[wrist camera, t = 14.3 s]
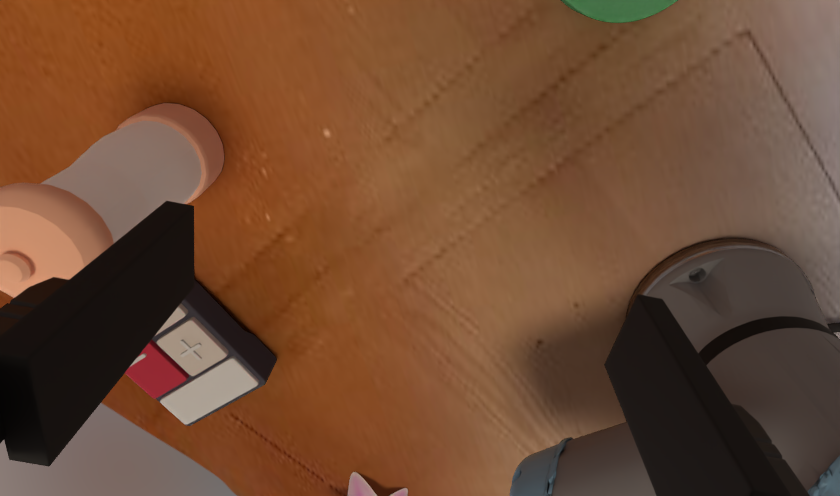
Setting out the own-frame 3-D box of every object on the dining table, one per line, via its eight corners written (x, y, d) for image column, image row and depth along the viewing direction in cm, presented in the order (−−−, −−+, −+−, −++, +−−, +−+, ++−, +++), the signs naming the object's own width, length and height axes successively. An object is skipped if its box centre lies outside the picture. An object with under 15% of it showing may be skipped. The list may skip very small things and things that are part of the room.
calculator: (144, 269, 44) (265, 389, 49) (170, 246, 47) (279, 359, 52) (63, 327, 47) (183, 433, 52) (93, 301, 51) (202, 402, 56)
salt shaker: (135, 179, 44) (-56, 317, 27) (131, 92, 40) (-91, 189, 23) (222, 198, 44) (89, 345, 27) (226, 114, 41) (75, 223, 24)
